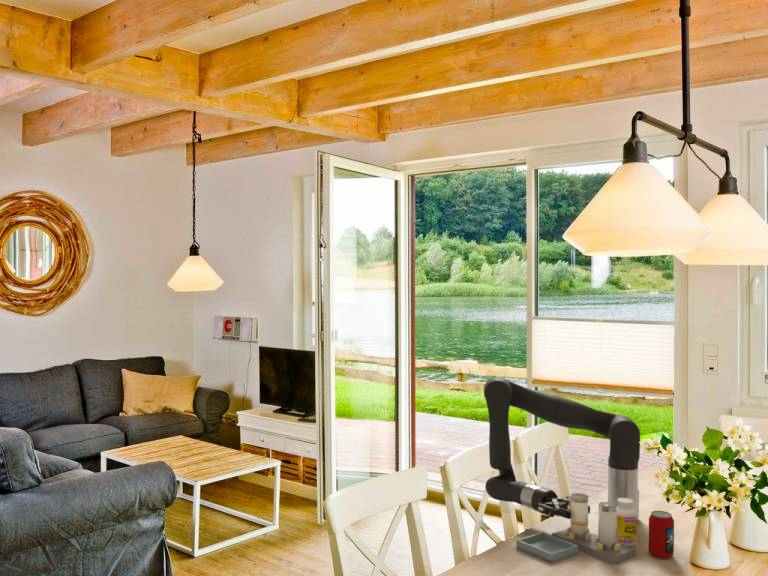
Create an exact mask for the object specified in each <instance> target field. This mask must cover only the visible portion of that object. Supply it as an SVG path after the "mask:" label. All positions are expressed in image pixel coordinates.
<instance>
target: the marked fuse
mask: <svg viewBox="0 0 768 576" xmlns="http://www.w3.org/2000/svg"><path fill="white" fill-rule="evenodd" d="M570 497H571V519H569V521H570V522H569V523H570V527H571V529H570V532H571V533H574V534H575V538H576V539H585V534H588V529H589V513H588V506H589V496H588V494H585V493H579V492H578V493H576V492H575V493H572V494H571V495H570Z"/></svg>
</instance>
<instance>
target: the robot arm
mask: <svg viewBox="0 0 768 576" xmlns="http://www.w3.org/2000/svg"><path fill="white" fill-rule="evenodd" d="M483 396H484V399H485V402H486V403H485V404H486V406H487V407H486V408H487V413H488V421H489V422H488V423H489V435H488V452H489V453H488V455H489V456H488V457H489V466H490V468H492V469H493V470H498V472H499V475H496V476H491V477H490V478H488V479H487V480H486V483H485V491H486V493H487V495H488V496H489V497H490V498H492V499H494V500H495V501H496V500H497V501H500V502H501V501H502V502H509V503H515V504H518V505H520V506H523V507H527V509H530V510H533V511H535V512H538V513H540V514H543V515H545V516H548V517H551V518H555V516H556V517H561V518H564V519H568V520H570V519H571V495H570V496H569V495H566V496H565V497H562V496H561V497H560V496H559V497H558V495H557V493H556V492H555V491H554V490H552V489H549V488H545V487H544V486H543V487H542V486H539V485H536V484H531V483H528V482H525V481H519V480H518V481H517V478H516V474H515V471H514V468H513V466H512V465H513V464H512V456H511V455H512V454H511V438H510V427H509V414H510V407H513V408H516V409H517V408H518V409H519V410H520V409H521V410H523V411H525V412H527V413H529V414H530V415H532V416H535V417H537V418H539V419H541V420H543V421H545V422H548V423H551V424H553V425H555V426H560V427H564V428H567V429H574V430H583V431H589V432H593V433H595V434H598V435H600V436H603V437H606V438H608V439H609V456H608V458H607V460H608V461H607V463H608V464H607V502H611V503H614V504H616V505H617V506H618V504H617V499H618V498H629V499H632V500H633V501H634V505H633V508H634V509H635V510H636V512H637V520H639V519H640V489H639V485H638V484H639V461H640V457H641V456H640V455H641V454H640V451H641V432H640V428H639V426H638V425H637V423H636V422H635V421H633V419H632V418H630V417H629V416H627V415H623V414H616V413H610V412H606V411H602V410H598V409H596V408H593V407H590V406H589V405H585V404H583V403H580V402H578V401H576V400H572V399H569V398H566V397H562V396H560V395H556V394H552V393H549V392H544V391H541V390H537V389H532V388H528V387H525V386H523V385H520V384H518V383H514V382H513V381H511V380H508V379H506V378H504V377H501V376H495V377H491V378H489V379H488V380H487V381H486V382H485V384H484V387H483ZM639 442H640V443H639ZM590 513H591V506H590V505H588V514H590Z"/></svg>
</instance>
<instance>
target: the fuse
mask: <svg viewBox="0 0 768 576" xmlns="http://www.w3.org/2000/svg"><path fill="white" fill-rule="evenodd" d="M597 526H598V527H597V529H598V531H597V532H598V534H597V535H598V543H601V544H603V549H607V550H613V549H614V545H615V544H617V505H616V504H614V503H611V502H608V501H602V502H599V503H598V525H597Z"/></svg>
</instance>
